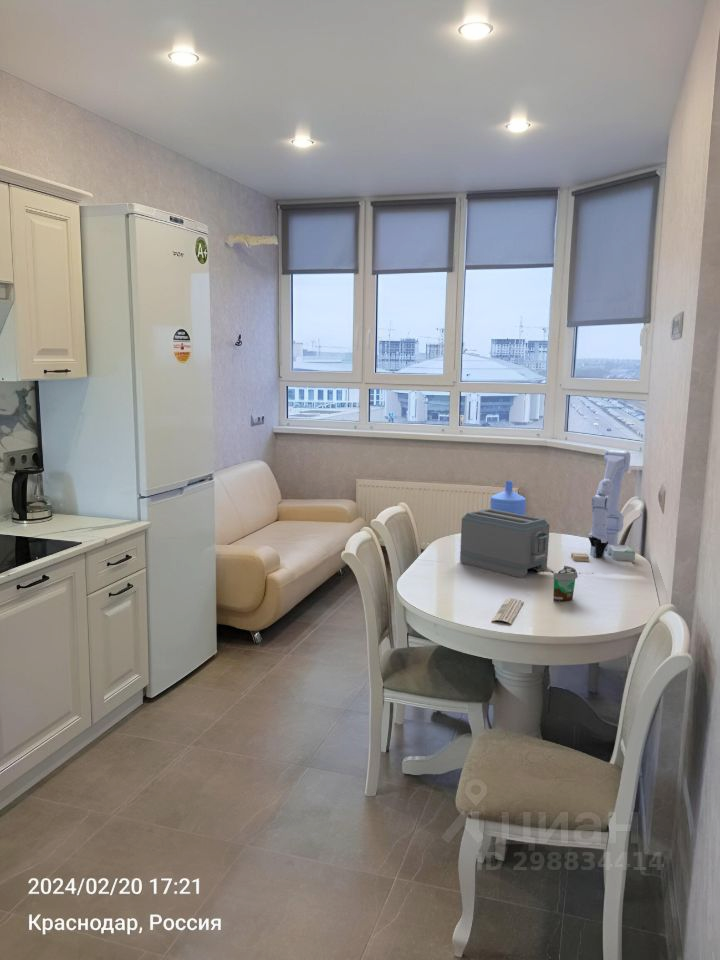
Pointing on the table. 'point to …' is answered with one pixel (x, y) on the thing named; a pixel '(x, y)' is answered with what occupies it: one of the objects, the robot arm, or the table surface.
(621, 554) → the ink box
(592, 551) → the block
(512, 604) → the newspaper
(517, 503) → the water jug
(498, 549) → the toaster
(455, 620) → the table surface
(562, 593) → the food container
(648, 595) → the table surface
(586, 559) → the tower top
